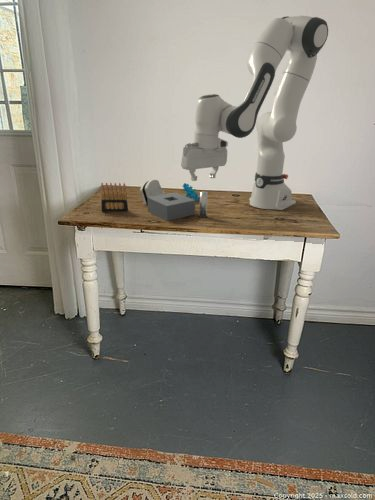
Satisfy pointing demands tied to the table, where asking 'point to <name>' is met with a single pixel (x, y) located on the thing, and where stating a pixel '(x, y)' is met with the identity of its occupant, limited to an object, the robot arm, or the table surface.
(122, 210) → the ammunition clip
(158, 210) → the pin block
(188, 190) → the gear
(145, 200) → the hinge
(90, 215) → the table surface
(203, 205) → the steel pin
